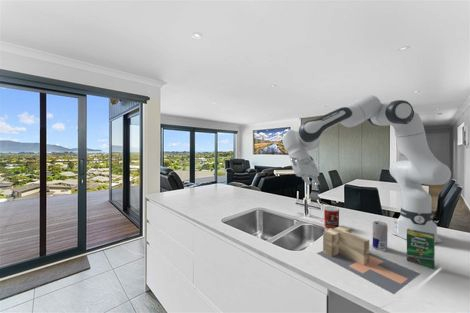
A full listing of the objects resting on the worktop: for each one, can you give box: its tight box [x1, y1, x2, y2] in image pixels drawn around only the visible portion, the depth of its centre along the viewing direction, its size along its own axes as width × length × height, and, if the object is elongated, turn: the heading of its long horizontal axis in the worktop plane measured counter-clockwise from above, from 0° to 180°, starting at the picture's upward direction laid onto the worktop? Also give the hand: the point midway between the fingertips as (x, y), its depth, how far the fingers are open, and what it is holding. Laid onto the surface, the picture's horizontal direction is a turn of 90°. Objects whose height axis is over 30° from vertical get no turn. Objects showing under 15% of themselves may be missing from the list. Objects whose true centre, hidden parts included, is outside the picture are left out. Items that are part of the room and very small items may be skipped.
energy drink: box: [372, 220, 389, 252], centre depth 89 cm, size 5×5×12 cm
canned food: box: [323, 206, 340, 230], centre depth 116 cm, size 8×8×11 cm
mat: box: [316, 250, 421, 295], centre depth 78 cm, size 20×28×1 cm
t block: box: [322, 225, 370, 265], centre depth 83 cm, size 14×14×9 cm
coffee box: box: [406, 229, 436, 270], centre depth 77 cm, size 8×3×13 cm, turn 39°
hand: (313, 184), depth 94 cm, fingers open, 8 cm apart
